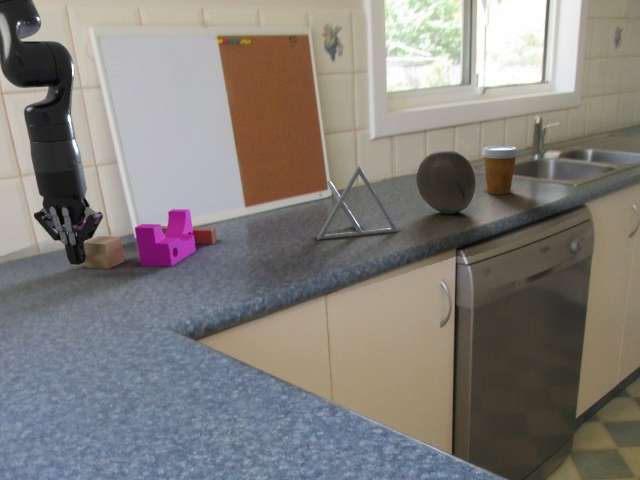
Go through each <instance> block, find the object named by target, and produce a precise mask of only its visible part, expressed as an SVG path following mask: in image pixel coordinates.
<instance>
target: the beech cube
mask: <svg viewBox="0 0 640 480" xmlns="http://www.w3.org/2000/svg"><path fill="white" fill-rule="evenodd" d="M123 246H124V245H123V241H122V237H121V236H107V235H97V236H95V237H92V238H91V239H88V240H86V241H84V248H85V253H86V260H85V262H84V265H85V268H89V269H91V268H92V269H105V270H109V269H111V268H113V267H116V266H118V265H120V264H122V263H124V262H126V258H125V252H124V247H123Z"/></svg>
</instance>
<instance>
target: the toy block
mask: <svg viewBox="0 0 640 480" xmlns="http://www.w3.org/2000/svg"><path fill="white" fill-rule="evenodd" d="M167 212H168V213H167V214H168V217H167V218H168V219H167V230H166V232H165V234H164V233H163V231H162V228H161V226H162V225H161V224H159V223H157V224H156V223H141V224H139V225H136V226H134V232H135V238H136V245H137V250H138V251H137V252H138V256H139V261H140V266H154V267H173V266H174V265H176V264H177V263H179V262H181V261H182V260H184V259H185V258H187V257H188V256H190V255H192V254H193V253H194V252H196V251H197V249H196V248H197V247H196V243H195V239H194V234H193V228H194V227H193V222H192V214H191V209H182V208H181V209H180V208H179V209H178V208H172V209H170V210H168V211H167Z"/></svg>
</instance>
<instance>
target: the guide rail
mask: <svg viewBox="0 0 640 480" xmlns="http://www.w3.org/2000/svg"><path fill="white" fill-rule="evenodd" d="M167 226H168V225H167ZM167 226H165V225H161V228H162V231H163V233H164V234H165V232H166V230H167ZM192 228H193V234H194V239H195V244H205V245H206V244H207V245H214V244H215V243H217V242H218V237H217V230H216V228H213V227H211V228H210V227H208V228H207V227H192Z"/></svg>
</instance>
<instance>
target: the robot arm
mask: <svg viewBox="0 0 640 480" xmlns="http://www.w3.org/2000/svg"><path fill="white" fill-rule="evenodd" d="M41 27H42V19H41V16H40V14H39V11H38V9H37V7H36V5H35V3H34V0H0V70H1V72H2V74H3V77H5V79H6V80H7V82H9V83H10V84H12V85H13V86H15V87H17V88H20V89H32V88H34V89H35V88H47V91H46V95H45V97H44V98H43V99H41V100H40V101H36V102H33V103H30V104H27V105H26V106H25V107H24V109H23V116H24V123H25V127H26V130H27V137H28V140H29V148H30V150H29V151H30V157H31V158H30V159H31V163H32V166H33V167H32V168H33V171H34V176H35V181H36V186H37V190H38V194H39V196H40V197H43V198H42V208H41V209H40V210H39V211H37V212H34V213H33V218H34V219H35V221H37V222H38V224H39V225H40V226H41V227H42V229H43V230H44V231H45V232H46V233H47V234H48V236H50V238H51V239H52V240H53V241H55V242H57V241H59V242H61V243H62V245H64V249H65V254H66V258H67V261H68V262H69V264H70V265H77V266H79V265H82V264H85V260H86V253H85V248H84V242H85V241H87V240H90V239H92V238H94V236H95V233H96V231H97V229H98V227H99V226H100V224H101V222H102V221H103V218H104V214H103V213H102V212H101V211H97V212H96V211H95V210H94V209H93V208H91V207H90V206H91V205H90V202H89V200H88V199H87V196H86V193H87V189H88V188H87V182H86V177H85V171H84V166H83V161H82V156H81V155H82V154H81V150H80V147H79V145H78V142H77V138H76V132H75V126H74V122H73V116H72V104H73V88H74V81H75V63H74V60H73V57H72V54H71V52H70V51H69V49H67V47H66V46H65V45H63V44H62V43H61V42H58V41H55V40H41V41H40V40H39V41H38V40H30V41H29V40H27V41H26V40H24V39H27V38H29V37H32V36H34V35H35V34H37V33H38V32H39V31H40V29H41Z"/></svg>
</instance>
